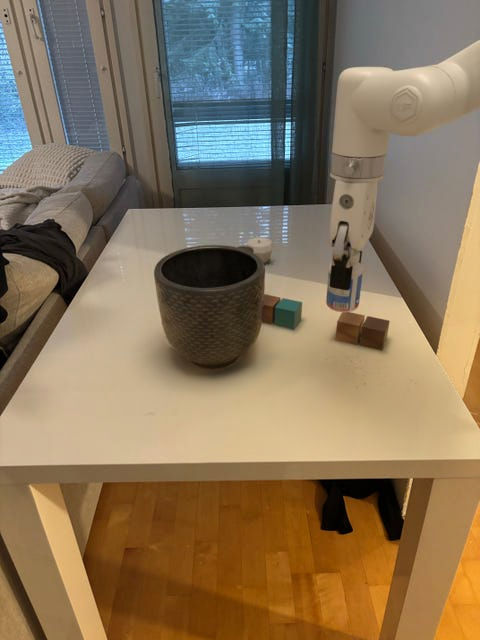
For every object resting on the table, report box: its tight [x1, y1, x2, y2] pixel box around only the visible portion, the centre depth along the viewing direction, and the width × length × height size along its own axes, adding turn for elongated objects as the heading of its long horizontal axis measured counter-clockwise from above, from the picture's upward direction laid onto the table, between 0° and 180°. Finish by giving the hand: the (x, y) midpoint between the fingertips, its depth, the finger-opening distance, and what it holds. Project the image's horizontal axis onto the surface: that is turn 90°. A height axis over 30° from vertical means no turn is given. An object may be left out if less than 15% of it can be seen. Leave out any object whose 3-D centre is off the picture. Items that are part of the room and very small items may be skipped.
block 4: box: [359, 315, 391, 351], centre depth 93 cm, size 4×4×4 cm
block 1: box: [262, 293, 282, 325], centre depth 102 cm, size 4×4×4 cm
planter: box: [153, 244, 266, 370], centre depth 87 cm, size 20×20×19 cm
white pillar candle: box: [245, 237, 274, 264], centre depth 128 cm, size 8×8×7 cm
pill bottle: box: [325, 249, 364, 313], centre depth 76 cm, size 6×5×10 cm
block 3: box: [335, 312, 366, 345], centre depth 95 cm, size 4×4×4 cm
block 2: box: [274, 297, 303, 330], centre depth 101 cm, size 4×4×4 cm
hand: (344, 279), depth 76 cm, fingers closed on pill bottle, 5 cm apart
